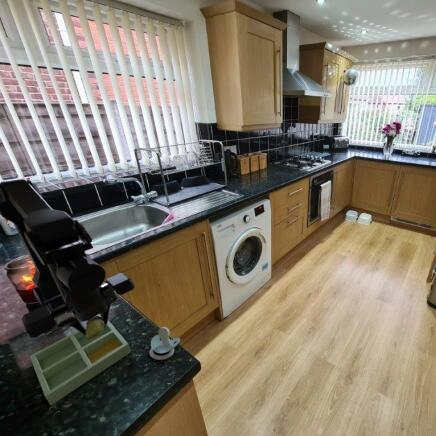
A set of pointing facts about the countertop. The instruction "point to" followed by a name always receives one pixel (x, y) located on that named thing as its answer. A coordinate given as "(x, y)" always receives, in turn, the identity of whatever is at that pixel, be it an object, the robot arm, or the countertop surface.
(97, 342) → the green divided tray
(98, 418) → the countertop surface
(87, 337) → the lime
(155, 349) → the pacifier
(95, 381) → the countertop surface
